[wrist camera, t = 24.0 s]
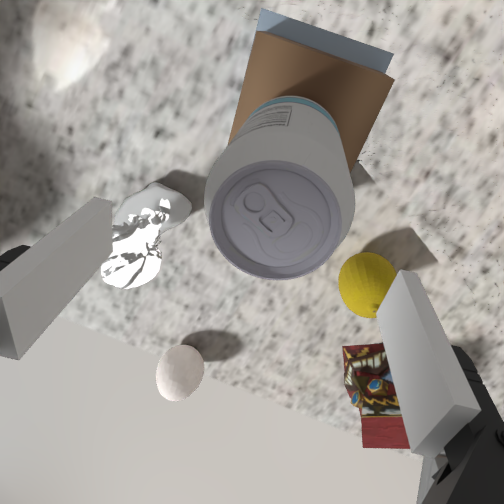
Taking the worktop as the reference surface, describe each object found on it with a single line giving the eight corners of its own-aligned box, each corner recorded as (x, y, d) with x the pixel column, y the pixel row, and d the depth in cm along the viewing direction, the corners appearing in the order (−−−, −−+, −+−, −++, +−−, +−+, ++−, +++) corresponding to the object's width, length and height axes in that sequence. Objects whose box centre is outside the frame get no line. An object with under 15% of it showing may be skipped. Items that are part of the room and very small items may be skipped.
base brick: (224, 174, 35) (218, 185, 32) (266, 10, 27) (261, 7, 25) (319, 205, 35) (319, 218, 32) (386, 51, 27) (393, 53, 25)
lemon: (343, 286, 39) (350, 339, 32) (330, 246, 36) (334, 294, 30) (395, 275, 37) (413, 328, 31) (384, 232, 35) (401, 279, 28)
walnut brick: (226, 179, 32) (213, 202, 28) (265, 31, 25) (256, 30, 21) (318, 210, 32) (319, 237, 28) (381, 71, 26) (394, 79, 21)
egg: (218, 357, 49) (204, 406, 42) (185, 368, 51) (167, 416, 45) (192, 328, 46) (173, 376, 40) (159, 342, 49) (136, 388, 42)
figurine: (174, 163, 34) (117, 218, 24) (212, 214, 37) (174, 283, 26) (111, 206, 38) (39, 269, 28) (149, 249, 40) (95, 322, 30)
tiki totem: (411, 339, 42) (433, 408, 34) (411, 385, 46) (430, 456, 39) (338, 343, 44) (344, 409, 36) (344, 386, 48) (351, 453, 41)
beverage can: (286, 209, 27) (271, 314, 17) (221, 144, 25) (161, 220, 15) (360, 148, 24) (395, 234, 14) (293, 68, 22) (277, 100, 12)
